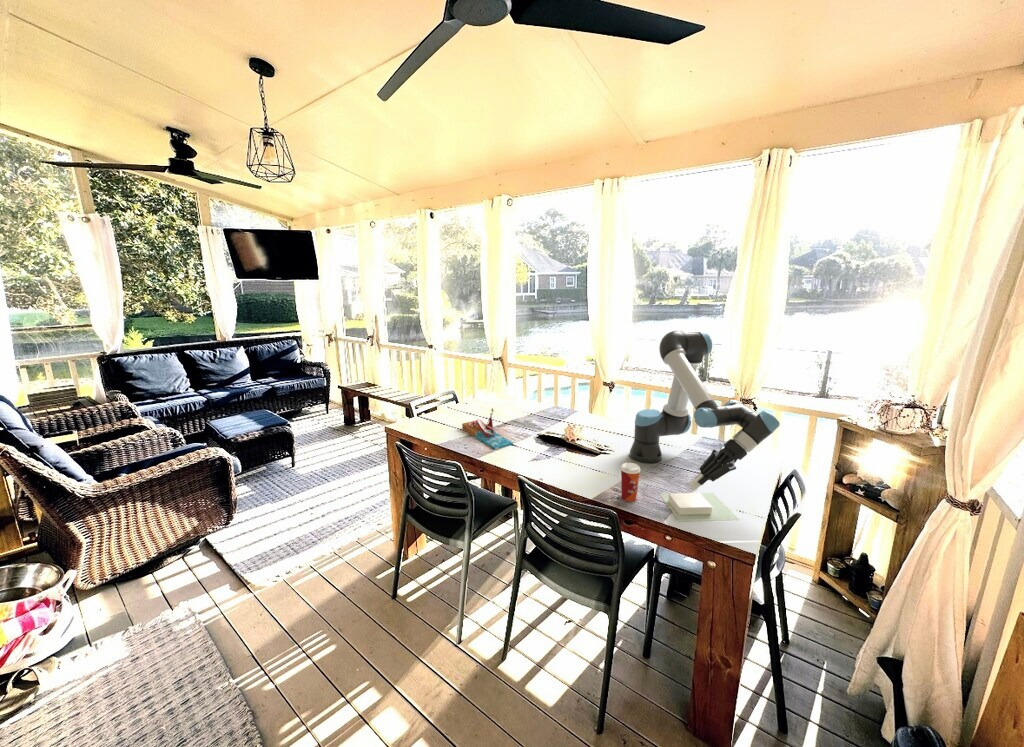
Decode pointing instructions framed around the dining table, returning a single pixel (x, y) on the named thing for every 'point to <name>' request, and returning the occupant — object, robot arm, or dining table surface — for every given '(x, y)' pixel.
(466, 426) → the sailboat model
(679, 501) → the pale orange box
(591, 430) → the dining table surface
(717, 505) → the rubber mat
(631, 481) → the paper cup
